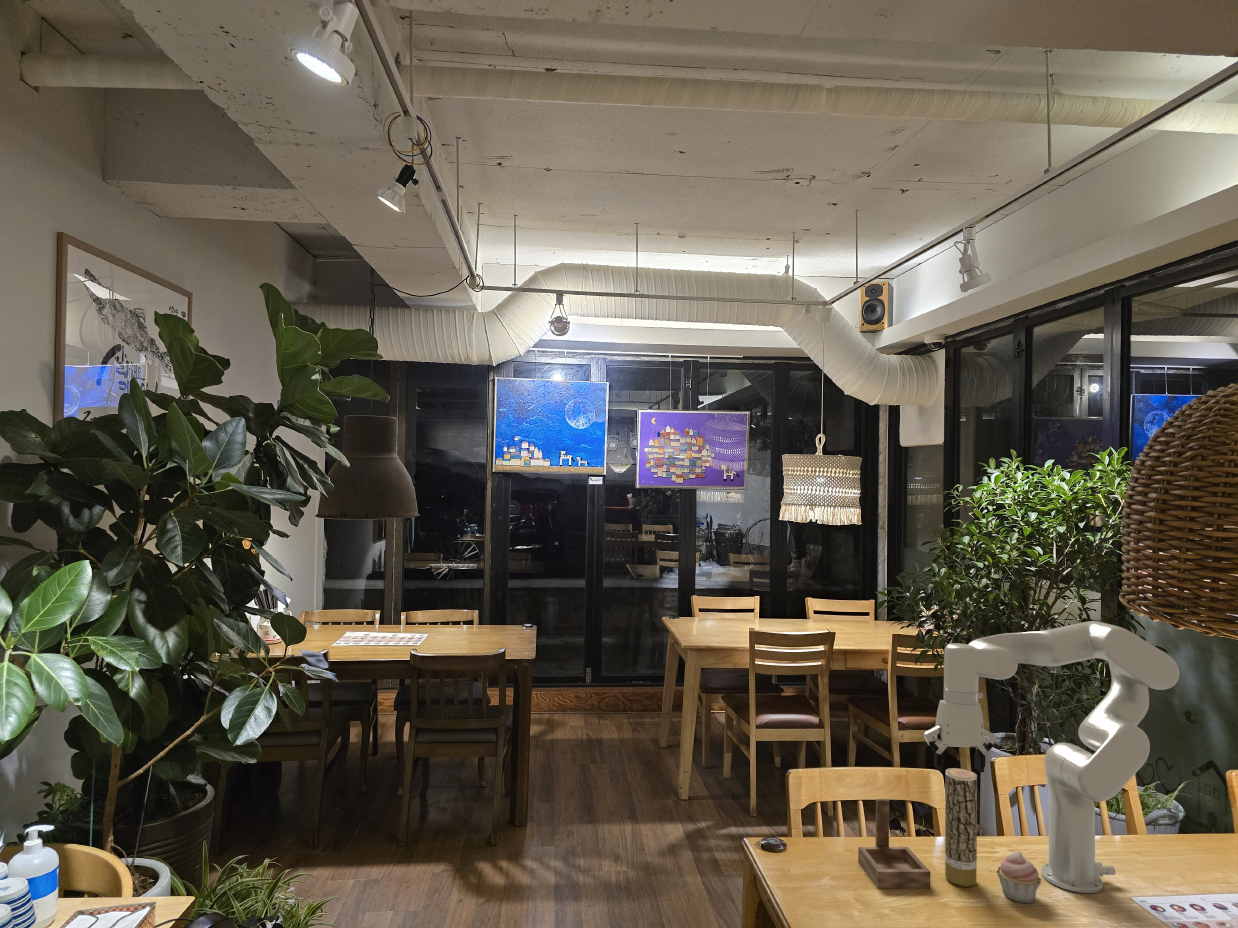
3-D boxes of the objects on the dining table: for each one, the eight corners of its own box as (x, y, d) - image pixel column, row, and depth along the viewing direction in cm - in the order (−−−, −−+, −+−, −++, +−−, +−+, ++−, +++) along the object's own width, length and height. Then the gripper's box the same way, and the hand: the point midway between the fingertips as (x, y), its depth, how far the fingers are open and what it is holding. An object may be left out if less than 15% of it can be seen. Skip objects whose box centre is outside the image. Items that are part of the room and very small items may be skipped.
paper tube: (979, 889, 176) (980, 779, 177) (948, 885, 177) (949, 776, 178) (972, 875, 182) (972, 769, 183) (942, 871, 184) (942, 766, 185)
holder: (905, 859, 190) (906, 798, 190) (930, 887, 176) (930, 821, 177) (856, 859, 189) (857, 798, 190) (877, 887, 176) (878, 821, 176)
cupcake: (1052, 905, 169) (1052, 860, 170) (1014, 908, 168) (1014, 862, 168) (1023, 884, 179) (1023, 841, 179) (987, 886, 177) (987, 843, 178)
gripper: (987, 693, 186) (986, 764, 185) (918, 691, 185) (916, 763, 184) (1004, 702, 178) (1003, 776, 177) (932, 700, 177) (930, 774, 177)
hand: (959, 769), depth 181 cm, fingers open, 9 cm apart
